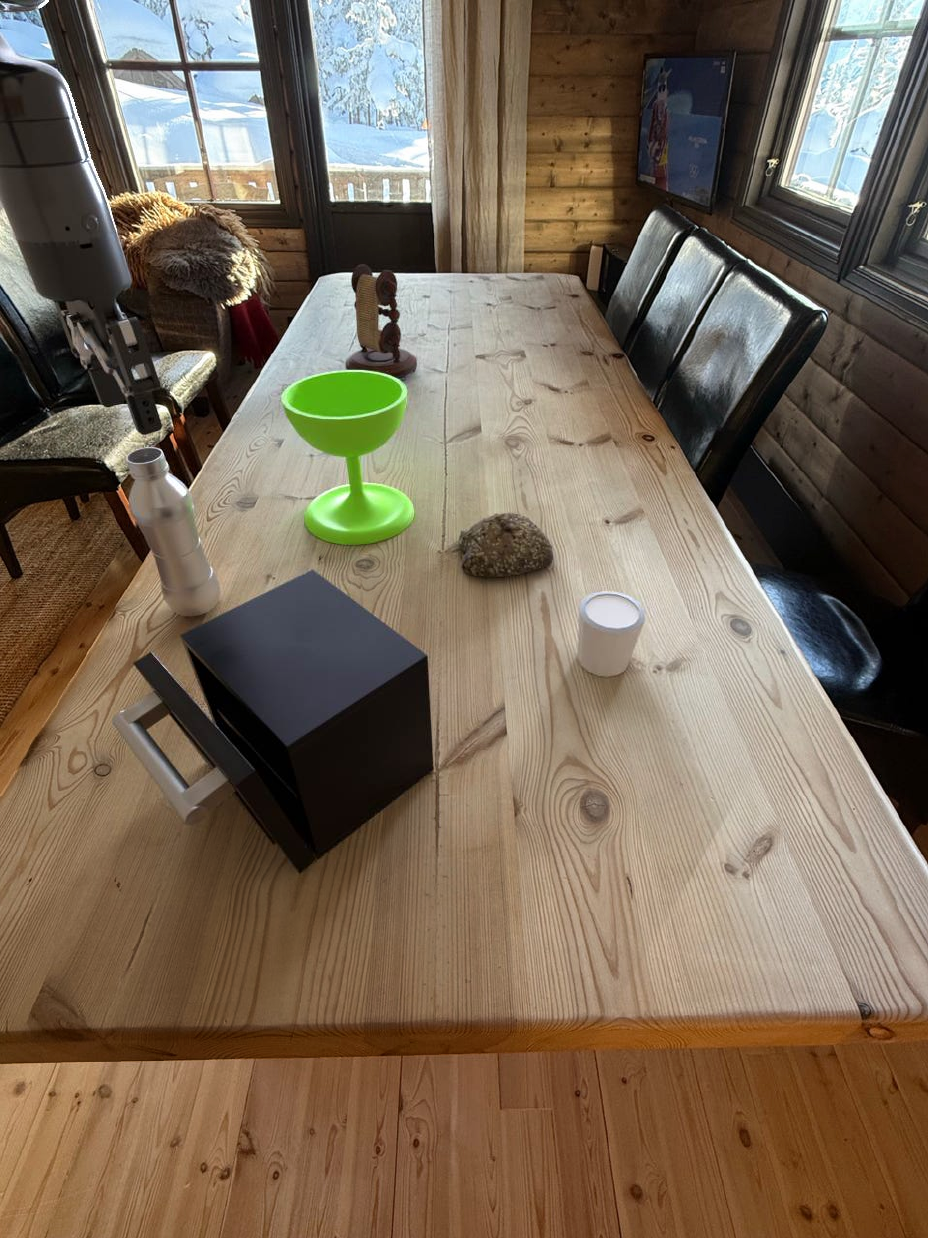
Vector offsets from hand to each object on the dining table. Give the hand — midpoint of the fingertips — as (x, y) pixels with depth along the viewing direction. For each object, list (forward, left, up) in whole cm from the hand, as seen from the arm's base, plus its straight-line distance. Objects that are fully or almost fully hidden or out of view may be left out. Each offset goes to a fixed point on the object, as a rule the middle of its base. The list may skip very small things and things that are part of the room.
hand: (131, 417), depth 64 cm
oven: (-2, -30, -24) cm, 38 cm away
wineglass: (+27, +3, -24) cm, 36 cm away
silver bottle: (0, 0, -24) cm, 24 cm away
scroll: (+64, +44, -24) cm, 81 cm away
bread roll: (+35, -18, -24) cm, 46 cm away
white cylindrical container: (+28, -40, -24) cm, 54 cm away
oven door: (-11, -30, -24) cm, 40 cm away
